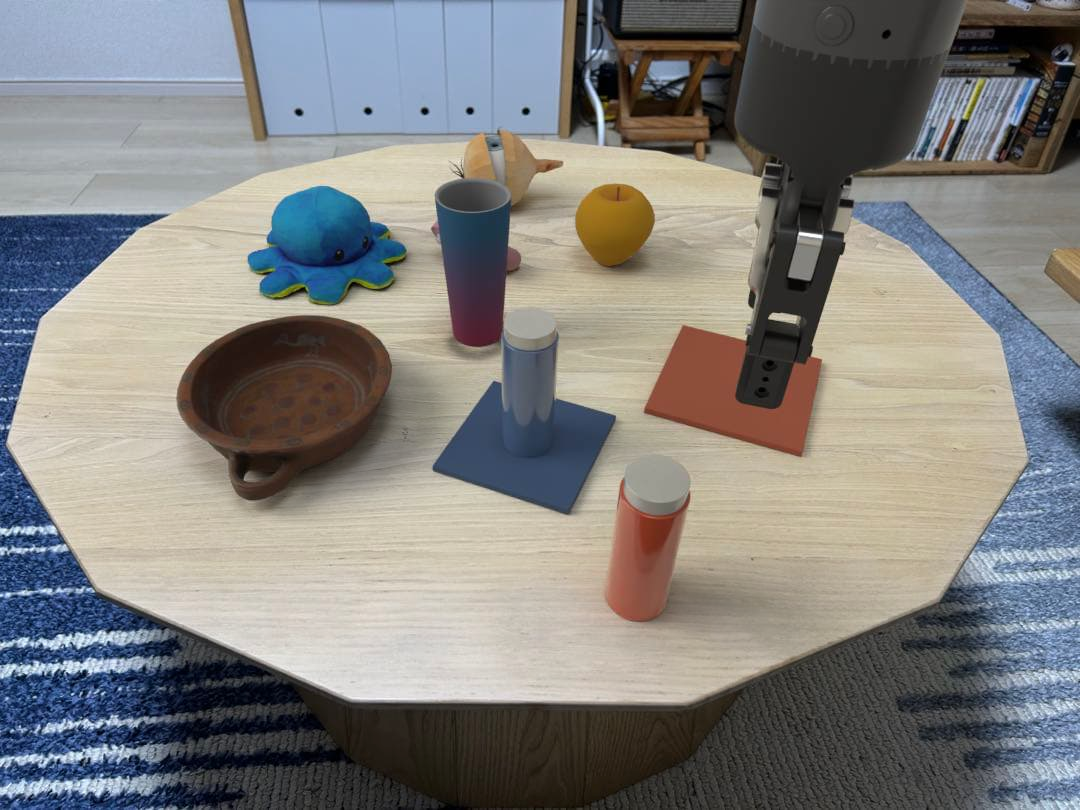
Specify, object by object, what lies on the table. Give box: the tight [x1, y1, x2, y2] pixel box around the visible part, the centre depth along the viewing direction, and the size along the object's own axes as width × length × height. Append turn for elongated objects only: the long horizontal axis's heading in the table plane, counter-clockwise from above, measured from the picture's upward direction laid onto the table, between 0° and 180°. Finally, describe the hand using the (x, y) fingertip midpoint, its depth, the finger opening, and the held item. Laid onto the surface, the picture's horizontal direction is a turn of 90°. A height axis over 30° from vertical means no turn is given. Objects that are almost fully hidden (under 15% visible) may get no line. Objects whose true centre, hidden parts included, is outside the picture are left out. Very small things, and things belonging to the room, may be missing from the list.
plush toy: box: [247, 185, 408, 306], centre depth 84 cm, size 17×17×8 cm
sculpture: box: [449, 125, 565, 207], centre depth 96 cm, size 9×9×15 cm
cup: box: [434, 178, 512, 347], centre depth 73 cm, size 7×7×15 cm
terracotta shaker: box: [604, 454, 692, 622], centre depth 51 cm, size 4×4×12 cm
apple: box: [574, 183, 656, 267], centre depth 86 cm, size 9×9×9 cm
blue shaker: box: [500, 307, 560, 458], centre depth 61 cm, size 4×4×12 cm
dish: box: [176, 314, 393, 502], centre depth 66 cm, size 17×22×5 cm
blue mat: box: [432, 380, 617, 515], centre depth 66 cm, size 12×12×1 cm
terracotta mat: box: [643, 324, 823, 457], centre depth 72 cm, size 14×14×1 cm
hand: (761, 351), depth 41 cm, fingers open, 8 cm apart
